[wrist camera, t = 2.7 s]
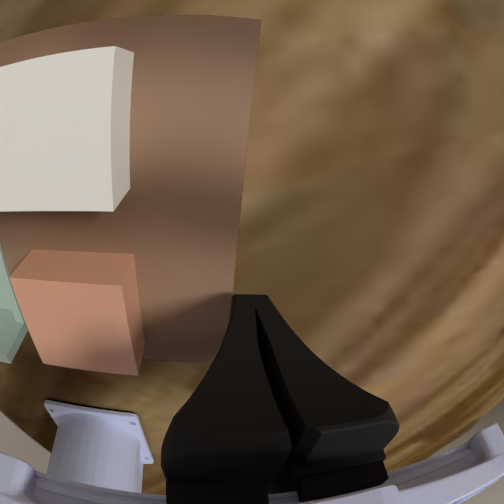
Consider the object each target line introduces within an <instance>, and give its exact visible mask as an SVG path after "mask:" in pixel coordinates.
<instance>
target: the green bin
mask: <svg viewBox="0 0 504 504" xmlns="http://www.w3.org/2000/svg"><path fill="white" fill-rule="evenodd" d="M27 332H28V328H27V325H26V323H25V320H24V318H23V315H22V312H21V310H20V307H19V304H18V302H17V299H16V296H15V293H14V290H13V287H12V284H11V281H10V278H9V274H8V270H7V267H6V263H5V260H4V256H3V253H2V249H1V245H0V362H4V363H8V364H11V363H12V361H13V359H14V357H15V355H16V353H17V351H18V349H19V347H20V345H21V343H22V341H23V339H24V337H25V335H26V333H27Z"/></svg>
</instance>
